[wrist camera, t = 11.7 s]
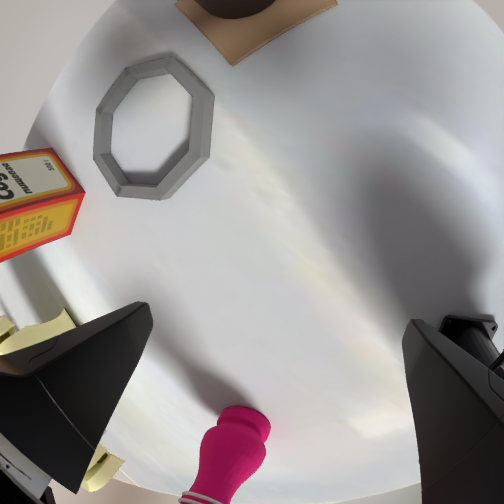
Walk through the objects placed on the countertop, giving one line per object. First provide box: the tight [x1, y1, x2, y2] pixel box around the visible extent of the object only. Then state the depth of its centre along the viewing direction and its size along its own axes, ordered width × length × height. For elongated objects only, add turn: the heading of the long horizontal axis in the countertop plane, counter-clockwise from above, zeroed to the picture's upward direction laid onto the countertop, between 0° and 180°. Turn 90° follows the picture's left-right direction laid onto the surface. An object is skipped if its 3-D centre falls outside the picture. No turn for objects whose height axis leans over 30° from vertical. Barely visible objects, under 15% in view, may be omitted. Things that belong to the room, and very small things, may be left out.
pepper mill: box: [178, 406, 271, 504], centre depth 19 cm, size 7×7×20 cm
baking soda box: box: [0, 148, 85, 263], centre depth 19 cm, size 10×6×16 cm
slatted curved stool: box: [0, 309, 125, 492], centre depth 28 cm, size 30×16×18 cm, turn 39°
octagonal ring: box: [93, 57, 215, 200], centre depth 20 cm, size 12×12×2 cm
